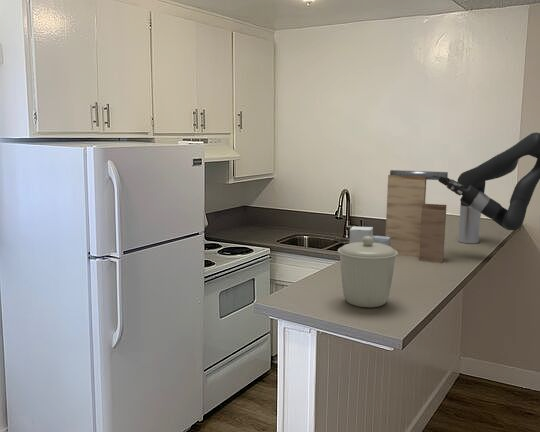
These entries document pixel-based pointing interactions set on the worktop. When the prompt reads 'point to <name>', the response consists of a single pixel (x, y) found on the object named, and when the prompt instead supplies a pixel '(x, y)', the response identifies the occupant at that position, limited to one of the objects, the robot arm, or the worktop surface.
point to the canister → (367, 272)
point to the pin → (421, 174)
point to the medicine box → (382, 240)
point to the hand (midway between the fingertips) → (440, 177)
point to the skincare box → (360, 233)
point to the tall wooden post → (432, 232)
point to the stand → (405, 212)
